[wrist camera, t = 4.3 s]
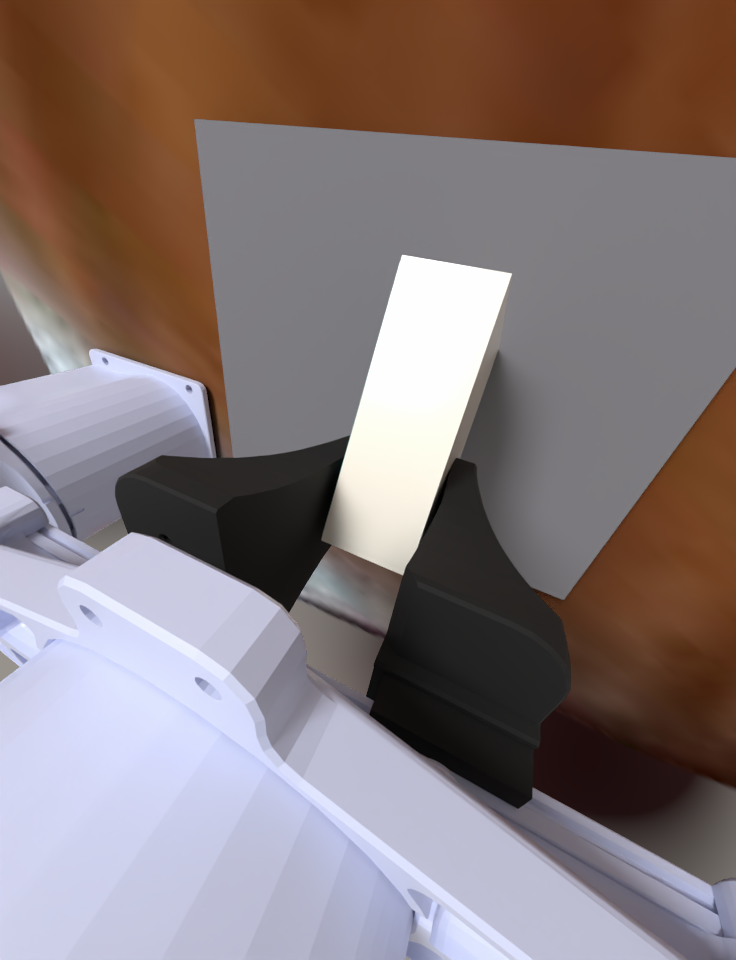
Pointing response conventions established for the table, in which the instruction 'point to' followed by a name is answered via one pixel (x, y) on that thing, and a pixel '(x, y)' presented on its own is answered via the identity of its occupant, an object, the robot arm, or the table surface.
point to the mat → (528, 317)
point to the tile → (416, 407)
